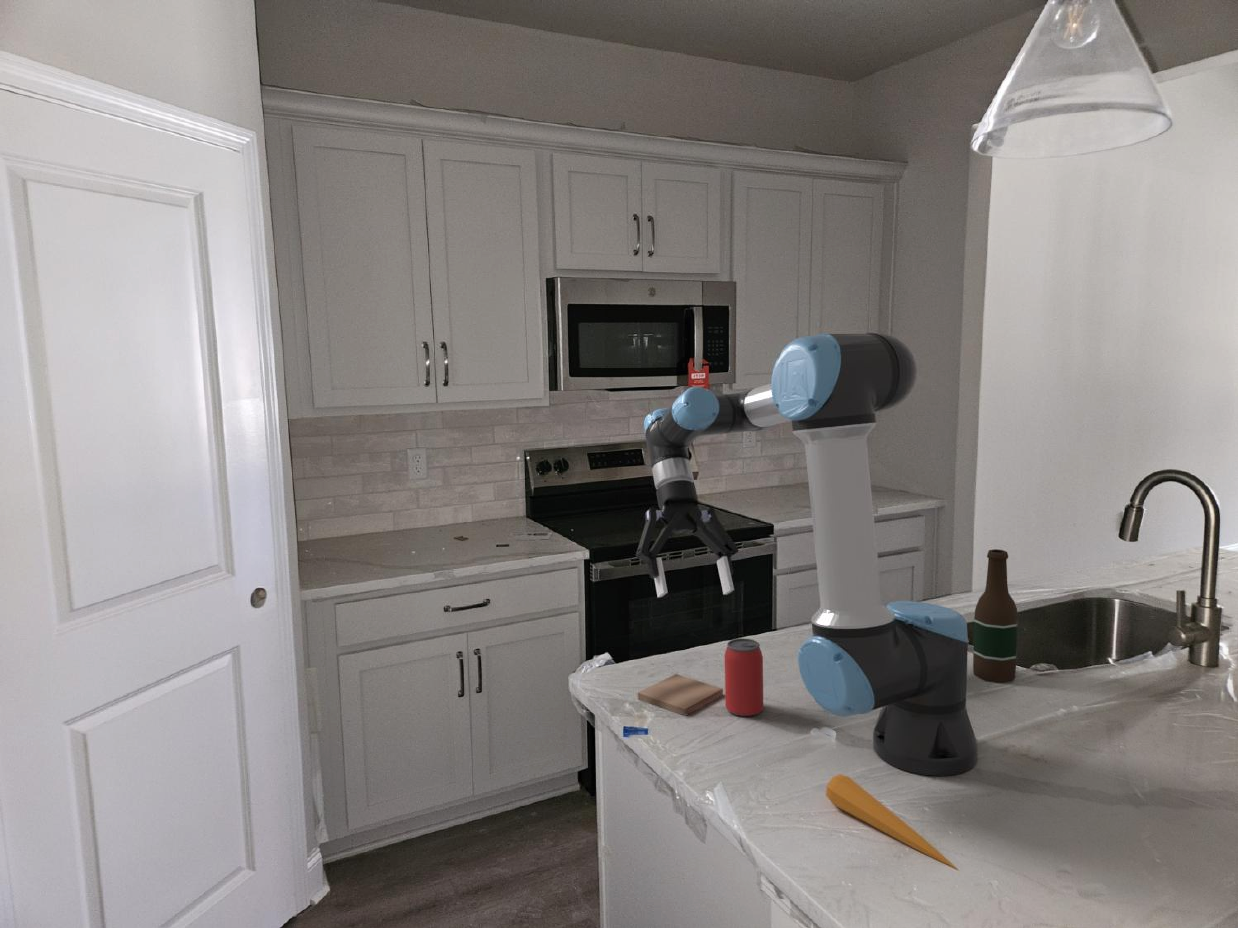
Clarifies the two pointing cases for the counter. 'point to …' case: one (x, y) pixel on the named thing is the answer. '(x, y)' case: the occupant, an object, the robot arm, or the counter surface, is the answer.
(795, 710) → the counter surface
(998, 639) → the beer bottle
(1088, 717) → the counter surface
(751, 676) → the beer can
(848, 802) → the carrot
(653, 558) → the robot arm
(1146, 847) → the counter surface
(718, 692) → the walnut board
